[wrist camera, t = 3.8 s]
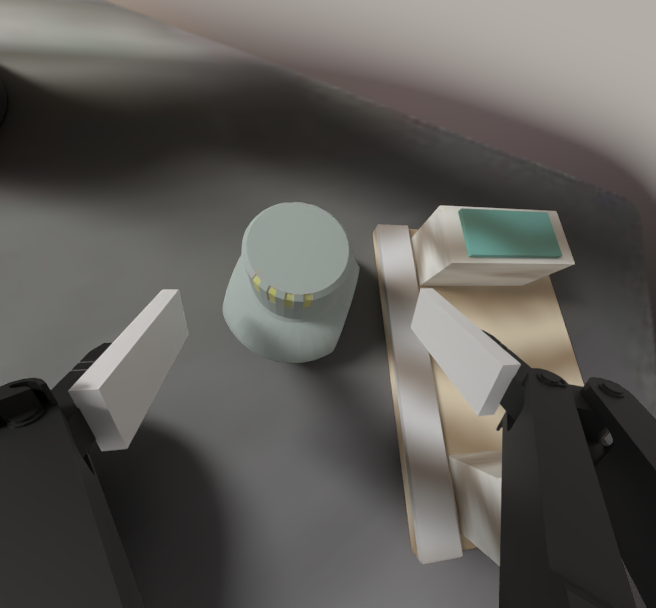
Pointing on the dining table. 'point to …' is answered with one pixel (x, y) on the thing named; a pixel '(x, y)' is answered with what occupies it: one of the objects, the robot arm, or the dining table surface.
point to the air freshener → (292, 284)
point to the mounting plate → (431, 381)
